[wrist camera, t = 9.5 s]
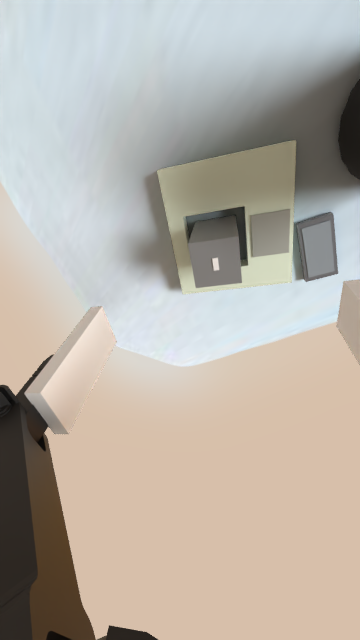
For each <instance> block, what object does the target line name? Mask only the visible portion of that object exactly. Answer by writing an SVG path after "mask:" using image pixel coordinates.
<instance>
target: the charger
mask: <svg viewBox="0 0 360 640" xmlns="http://www.w3.org/2000/svg"><path fill="white" fill-rule="evenodd" d="M188 247H189V253H190V258H191V264H192V270H193V275H194V281H195V286H196V288H202V287H211V286H219V285H228V284H237V283H242V275H241V262H240V248H239V235H238V229H237V223H236V217H235V215H233V216H227V217H221V218H215V219H209V220H203V221H197V222H195V225H194V228H193V231H192V233H191V236H190V239H189V242H188Z"/></svg>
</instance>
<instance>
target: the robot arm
mask: <svg viewBox="0 0 360 640" xmlns="http://www.w3.org/2000/svg"><path fill="white" fill-rule="evenodd" d="M337 328H338V330H339V331H340V333H341V334H342V336H343V338H344V340H345V341H346V343H347V344H348V346H349V348H350V350H351V351H352V353H353V354H354V356H355V358H356V360H357V361H358V363H359V365H360V280H351V281H344V282H343V288H342V295H341V301H340V308H339V314H338V320H337ZM116 342H117V341H116V339H115V336H114V334H113V331H112V329H111V326H110V324H109V321H108V319H107V317H106V314H105V312H104V309H103V307H102V306H99V307H91V308H90V309H89V310H88V312H87V313H86V314H85V316H84V317H83V318H82V319H81V321H80V322H79V324H78V325H77V326H76V327H75V328H74V330H73V331H72V332H71V334H70V335H69V336H68V337H67V339H66V340H65V341H64V343H63V344H62V345H61V347H60V348H59V349H58V350H57V352H56V353H55V354H54V355H51V356H50V357H48V358H47V359H46V360H45V361H43V363H42V364H41V365H40V366H39V368H38V369H37V371H35V373H34V374H33V375H32V377H31V378H30V379H29V380H28V381H27V383H26V384H25V385H24V386H23V388H22V389H21V390H20V391H19V393H18V394H17V395H16V396H15V395H14V394H13V393H12V391H11V390H10V389H9V387H8V386H6V385H0V640H96V639H95V635H94V631H93V628H92V625H91V622H90V620H89V618H88V616H87V614H86V612H85V610H84V608H83V605H82V602H81V598H80V594H79V589H78V584H77V580H76V574H75V570H74V565H73V560H72V555H71V550H70V546H69V540H68V536H67V531H66V526H65V521H64V516H63V511H62V506H61V502H60V497H59V492H58V487H57V482H56V477H55V473H54V468H53V463H52V458H51V453H50V449H49V444H48V439H47V437H46V435H45V434H44V432H45V431H46V429H47V427H48V426H49V428H50V429H51V430H52V431H53V433H54V434H69V433H70V431H71V429H72V427H73V425H74V423H75V421H76V419H77V417H78V416H79V414H80V412H81V410H82V408H83V406H84V404H85V402H86V400H87V398H88V396H89V394H90V392H91V390H92V388H93V387H94V385H95V383H96V381H97V379H98V377H99V375H100V373H101V371H102V369H103V368H104V366H105V364H106V361H107V359H108V358H109V356H110V354H111V352H112V350H113V348H114V346H115V344H116ZM98 640H158V639H156V638H155V637H153V636H152V635H150V634H149V633H147V632H142V631H137V630H131V629H126V628H120V627H114V626H109V628H108V632H107V636H104V637H102V638H100V639H98Z"/></svg>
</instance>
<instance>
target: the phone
mask: <svg viewBox="0 0 360 640" xmlns="http://www.w3.org/2000/svg"><path fill="white" fill-rule="evenodd" d="M296 228H297V234H298V241H299V248H300V254H301V261H302V268H303V274H304V280H305V281H306V282H307V281H311V280H315V279H319V278H323V277H327V276H331V275H335V274H338V267H337V254H336V242H335V229H334V217H333V213H331V212H330V213H327V214H324V215H320V216H317V217H314V218H311V219H308V220H305V221H302V222H299V223H296Z"/></svg>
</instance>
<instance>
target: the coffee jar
mask: <svg viewBox="0 0 360 640" xmlns="http://www.w3.org/2000/svg"><path fill="white" fill-rule="evenodd" d="M338 141H339V146H340V152H341V157H342V160H343V162H344V163H345V165H346V167H347V168H348V170H349V171H350V173H351V174H352V175H354V176H355V177H357V178H358V179H360V79H359V81H358V82H357V84H356V85H355V87H354V88H353V90H352V91H351V93H350V96H349V98H348V101H347V104H346V106H345V109H344V111H343V114H342V116H341V123H340V131H339V139H338Z"/></svg>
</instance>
